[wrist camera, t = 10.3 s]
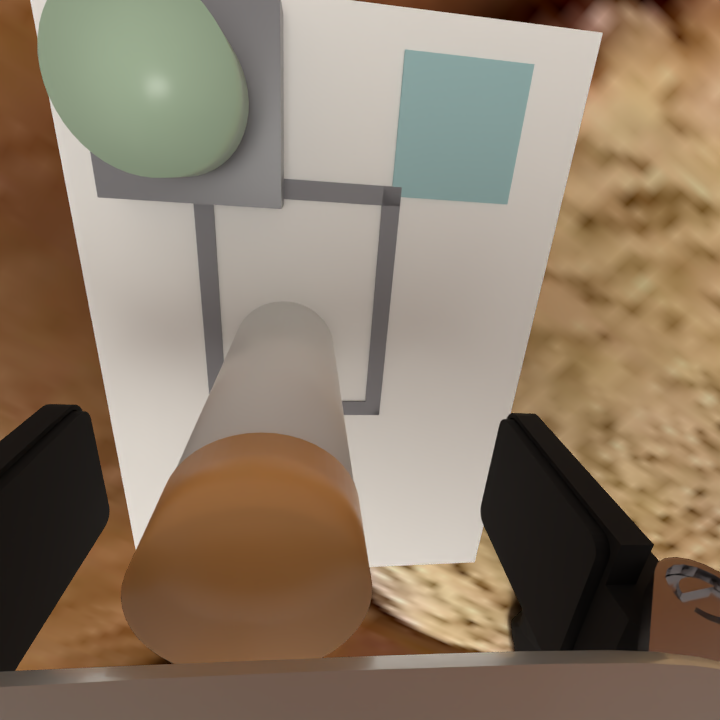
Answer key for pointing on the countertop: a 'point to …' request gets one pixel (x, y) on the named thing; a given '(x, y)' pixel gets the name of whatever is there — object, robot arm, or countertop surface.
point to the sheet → (357, 257)
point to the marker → (258, 511)
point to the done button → (144, 83)
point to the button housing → (262, 133)
